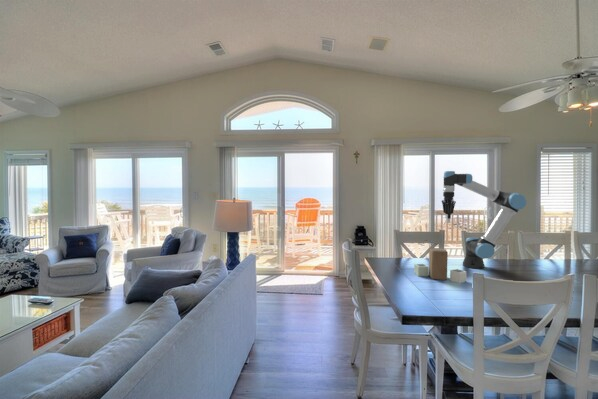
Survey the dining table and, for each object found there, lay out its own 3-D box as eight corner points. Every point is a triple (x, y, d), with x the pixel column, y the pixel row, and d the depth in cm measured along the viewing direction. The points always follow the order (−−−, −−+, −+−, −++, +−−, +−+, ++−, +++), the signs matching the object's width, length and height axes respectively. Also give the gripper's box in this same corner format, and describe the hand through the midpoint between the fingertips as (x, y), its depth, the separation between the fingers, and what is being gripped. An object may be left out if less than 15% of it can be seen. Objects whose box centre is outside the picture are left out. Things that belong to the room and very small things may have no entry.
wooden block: (447, 280, 210) (448, 251, 209) (431, 279, 212) (432, 250, 211) (443, 276, 220) (444, 248, 218) (428, 275, 222) (429, 247, 220)
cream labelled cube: (456, 278, 214) (456, 268, 213) (466, 281, 207) (466, 271, 207) (450, 280, 210) (450, 269, 210) (459, 283, 204) (459, 272, 204)
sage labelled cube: (423, 273, 227) (423, 263, 226) (427, 276, 220) (428, 266, 219) (414, 273, 226) (414, 263, 226) (418, 276, 219) (418, 266, 219)
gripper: (438, 191, 238) (437, 221, 239) (450, 191, 225) (449, 223, 227) (447, 191, 240) (446, 221, 241) (459, 191, 227) (458, 223, 228)
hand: (447, 222), depth 234 cm, fingers closed
